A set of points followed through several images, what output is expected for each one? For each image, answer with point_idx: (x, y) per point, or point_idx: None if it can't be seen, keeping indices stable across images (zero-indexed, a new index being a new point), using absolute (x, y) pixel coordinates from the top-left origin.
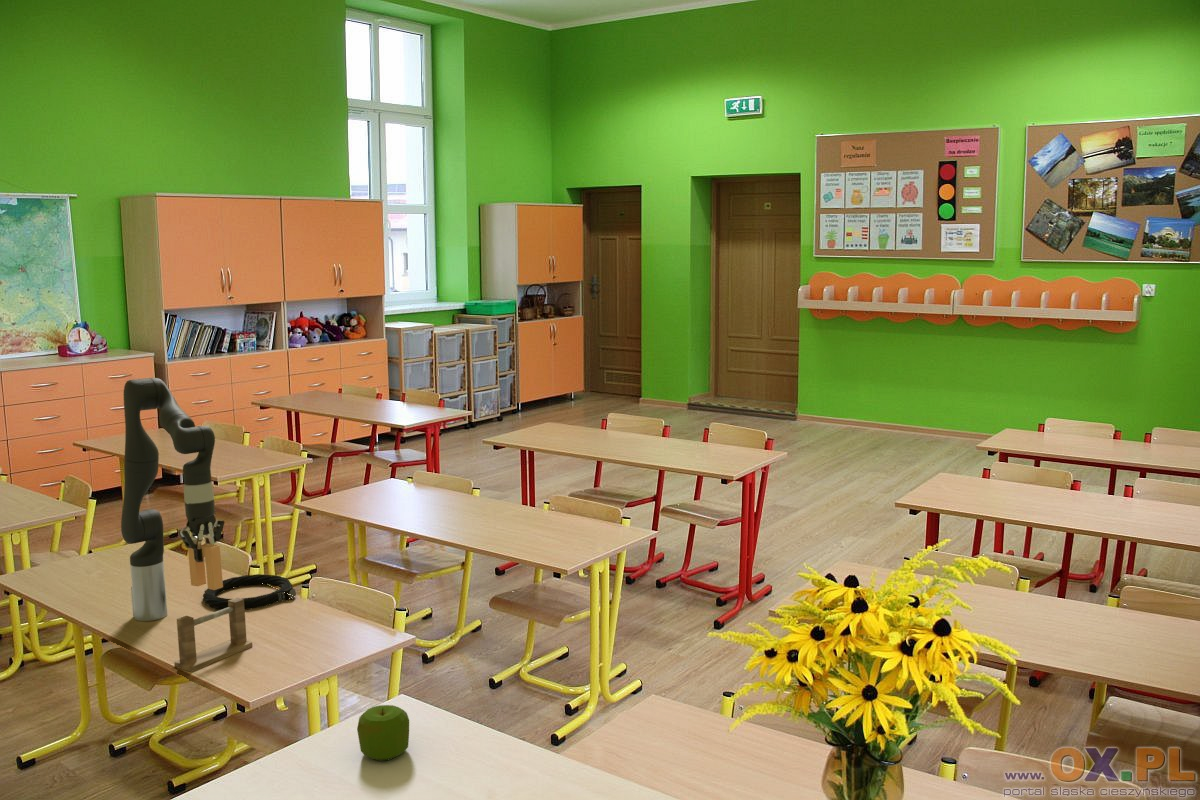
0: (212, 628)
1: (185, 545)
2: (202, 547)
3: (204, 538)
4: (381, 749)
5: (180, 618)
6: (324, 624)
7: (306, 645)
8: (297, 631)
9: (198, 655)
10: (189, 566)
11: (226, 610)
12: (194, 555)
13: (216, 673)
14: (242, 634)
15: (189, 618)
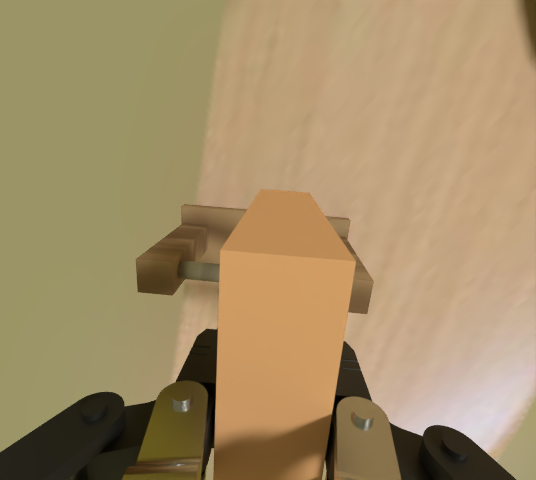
0: (399, 86)
1: (52, 419)
2: (216, 471)
3: (335, 472)
4: None
5: (145, 266)
6: (506, 322)
7: (385, 361)
8: (449, 298)
9: (232, 226)
10: (252, 202)
11: None
12: (190, 357)
13: (205, 305)
14: None
15: (160, 290)
